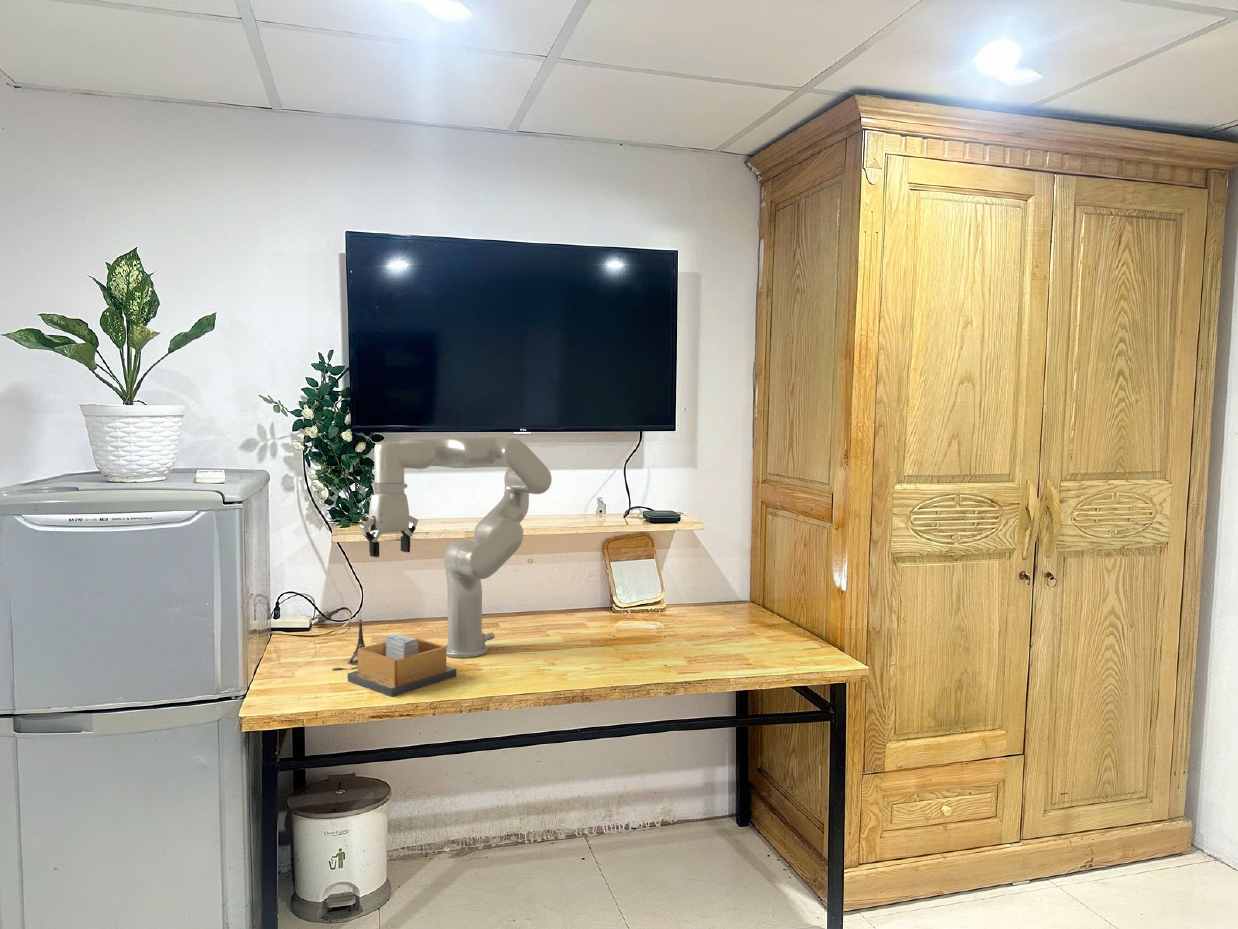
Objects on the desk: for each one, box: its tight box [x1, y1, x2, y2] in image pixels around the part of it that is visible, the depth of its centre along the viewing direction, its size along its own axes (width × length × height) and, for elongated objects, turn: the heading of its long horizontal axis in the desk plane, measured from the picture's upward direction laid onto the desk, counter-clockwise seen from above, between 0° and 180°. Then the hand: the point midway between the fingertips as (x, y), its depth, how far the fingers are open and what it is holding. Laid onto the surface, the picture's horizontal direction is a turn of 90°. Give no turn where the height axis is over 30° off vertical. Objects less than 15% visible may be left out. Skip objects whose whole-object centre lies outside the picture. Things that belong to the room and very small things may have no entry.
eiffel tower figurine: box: [331, 615, 366, 671], centre depth 231 cm, size 15×10×13 cm
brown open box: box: [347, 635, 457, 698], centre depth 218 cm, size 20×18×8 cm
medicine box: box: [385, 633, 419, 659], centre depth 217 cm, size 8×4×9 cm, turn 51°
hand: (390, 554), depth 225 cm, fingers open, 9 cm apart
